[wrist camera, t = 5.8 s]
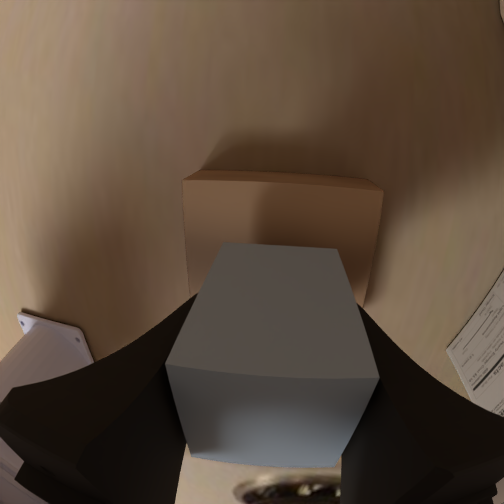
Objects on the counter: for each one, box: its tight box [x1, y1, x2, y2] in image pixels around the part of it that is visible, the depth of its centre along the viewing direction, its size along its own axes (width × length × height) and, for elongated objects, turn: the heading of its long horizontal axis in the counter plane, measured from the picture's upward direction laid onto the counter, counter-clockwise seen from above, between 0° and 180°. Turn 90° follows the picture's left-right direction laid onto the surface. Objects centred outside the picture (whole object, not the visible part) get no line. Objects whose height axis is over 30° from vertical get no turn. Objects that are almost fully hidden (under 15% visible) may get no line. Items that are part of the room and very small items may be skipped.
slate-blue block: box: [165, 242, 380, 467], centre depth 9 cm, size 4×4×6 cm
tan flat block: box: [182, 170, 384, 308], centre depth 14 cm, size 8×8×3 cm
